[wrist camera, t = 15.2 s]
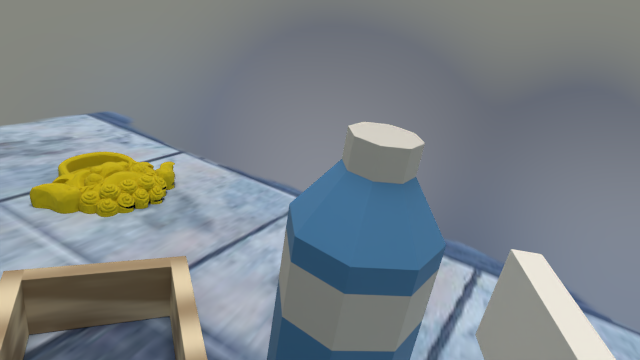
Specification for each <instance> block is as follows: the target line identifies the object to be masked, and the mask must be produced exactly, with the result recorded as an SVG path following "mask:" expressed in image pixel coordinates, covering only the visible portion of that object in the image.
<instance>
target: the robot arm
mask: <svg viewBox="0 0 640 360" xmlns="http://www.w3.org/2000/svg"><path fill="white" fill-rule="evenodd" d="M475 335H476V337H477V340H478V343H479V346H480V348H481V351H482V354H483V357H484V359H485V360H616V359H615V358H614V356H613V355H612V353H611V352H610V351H609V349H608V348H607V346H606V345H605V343H604V342H603V341H602V339H601V338H600V336H599V335H598V334H597V332H596V331H595V329H594V328H593V326H592V325H591V324H590V322H589V321H588V319H587V318H586V316H585V315H584V314H583V312H582V311H581V309H580V308H579V307H578V305H577V304H576V302H575V301H574V299H573V298H572V297H571V295H570V294H569V292H568V291H567V289H566V288H565V287H564V285H563V284H562V282H561V281H560V280H559V278H558V277H557V275H556V274H555V272H554V271H553V270H552V268H551V267H550V265H549V264H548V263H547V261H546V260H545V258H544V257H543V255H541V254H536V253H530V252H524V251H519V250H513V249H511V251H510V253H509V255H508V258H507V260H506V262H505V265H504V267H503V270H502V272H501V274H500V277H499V279H498V282H497V284H496V286H495V289H494V291H493V294H492V296H491V298H490V301H489V303H488V306H487V308H486V310H485V313H484V315H483V318H482V320H481V322H480V325H479V327H478V330H477V332H476V334H475Z"/></svg>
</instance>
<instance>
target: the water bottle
mask: <svg viewBox="0 0 640 360" xmlns="http://www.w3.org/2000/svg"><path fill="white" fill-rule="evenodd" d="M424 144H425V143H424V142H423V141H422V140H421V139H420V138H419V137H418V136H417V135H416V134H415V133H413V132H410V131H407V130H404V129H401V128H398V127H395V126H392V125H388V124H379V123H370V122H361V123H357V124H353V125H350V126H348V130H347V135H346V140H345V145H344V151H343V156H342V159H341V160H340V161H339V162H338V163H336V164H335V165H334V166H333V167H332V168H331V169H330V170H328V171H327V172H326V173H325V174H324V175H323V176H322V177H320V178H319V179H318V180H317V181H316V182H314V183H313V184H312V185H311V186H310V187H309V188H307V189H306V190H305V191H304V192H303V193H302V194H301V195H299V196H298V197H297V198H296V199H295V200H294V201H292V202H291V203H290V205H289V212H288V219H287V225H286V232H285V239H284V246H283V253H282V260H281V267H280V273H279V280H278V287H277V294H276V301H275V308H274V315H273V322H272V328H271V335H270V342H269V349H268V356H267V360H410V357H411V354H412V351H413V347H414V344H415V341H416V338H417V335H418V332H419V329H420V326H421V322H422V319H423V316H424V313H425V310H426V307H427V304H428V301H429V297H430V294H431V291H432V288H433V285H434V282H435V279H436V276H437V272H438V269H439V266H440V263H441V260H442V257H443V254H444V250H445V247H446V244H445V241H444V239H443V237H442V235H441V233H440V230H439V228H438V226H437V223H436V221H435V219H434V217H433V214H432V212H431V210H430V207H429V205H428V203H427V201H426V198H425V196H424V194H423V192H422V190H421V187H420V185H419V183H418V180H417V178H416V174H417V171H418V167H419V163H420V160H421V156H422V152H423V148H424Z"/></svg>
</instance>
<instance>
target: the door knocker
mask: <svg viewBox="0 0 640 360" xmlns="http://www.w3.org/2000/svg"><path fill="white" fill-rule="evenodd" d="M173 165H175V163H173V162H165V163H163V164H161V166H160V168H159V169H157V170H156V171H155V170H154V169H153V167H154V166H153V165H151V164H149V163H147V162H141V163H140V162H136V161H134V160H133V159H132V158H130V157H129V156H126V155H124V154H120V153H113V152H95V153H87V154H82V155H78V156H75V157H72V158H69V159H67V160H65V161H63V162H62V163H61V164H60V165H59V167H58V172H59V177H58V178H56V179H55V180H54V181H53V182H52V183H50V184H42V185H39V186H36V187H34V188H32V189H31V191H30V199H31V203H32V205H33V207H35V208H46V209H51V210H53V211H55V212H58V213H63V214H67V213H74V212H77V211H81V212H83V213H87V214H94V213H97V214H98V215H99V216H101V217H110V216H113V215H116V214H117V213H129V212H132V211H133V210H134V209H133V208H130V209H127V208H125V207H130V206H133V205H134V202H135V209H144V208H147V207H148V202H149V199H151V203H150V204H160V203H162V200H161V201H158V202H154V200H160V199H161V198H162V197H164V196H166V189H167V190H170V189H172V188H174V184H173V182H174V177H175V174H174V172H173ZM172 184H173V185H172ZM165 186H166V189H164V190H162V188H164V187H165ZM149 195H150V197H149ZM119 204H120V205H121V206H124V207H121V206H120V205H119Z"/></svg>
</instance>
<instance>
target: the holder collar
mask: <svg viewBox="0 0 640 360" xmlns="http://www.w3.org/2000/svg"><path fill="white" fill-rule="evenodd" d="M166 316H170V320H171V327H172V335H173V343H174V350H175V358H176V360H207V356H206V351H205V346H204V342H203V337H202V332H201V327H200V322H199V317H198V313H197V308H196V303H195V298H194V293H193V288H192V283H191V279H190V274H189V269H188V264H187V259H186V256H181V257H169V258H157V259H145V260H133V261H121V262H109V263H97V264H85V265H73V266H61V267H49V268H37V269H25V270H13V271H4V272H3V275H2V277H1V280H0V360H23V358H24V353H25V349H26V345H27V341H28V336H29V335H30V334H38V333H45V332H53V331H60V330H68V329H76V328H83V327H91V326H98V325H106V324H113V323H121V322H128V321H136V320H143V319H151V318H159V317H166Z"/></svg>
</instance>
